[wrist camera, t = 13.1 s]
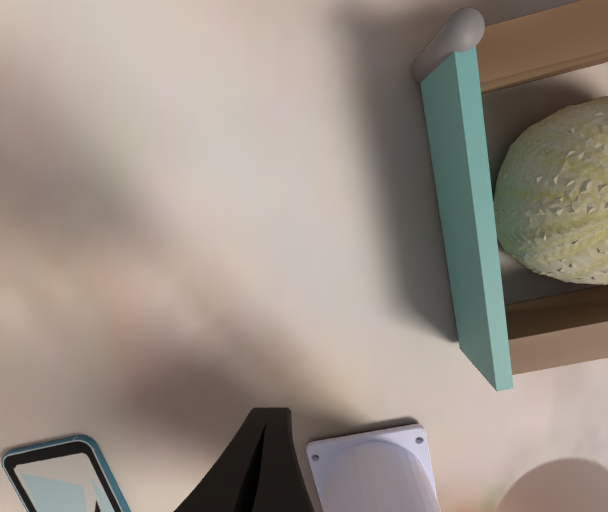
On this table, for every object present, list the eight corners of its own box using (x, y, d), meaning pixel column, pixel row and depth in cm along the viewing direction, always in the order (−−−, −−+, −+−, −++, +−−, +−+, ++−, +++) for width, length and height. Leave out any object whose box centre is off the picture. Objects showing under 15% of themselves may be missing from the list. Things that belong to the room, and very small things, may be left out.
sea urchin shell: (602, 325, 17) (631, 309, 11) (473, 245, 22) (444, 204, 16) (749, 184, 15) (884, 70, 9) (573, 131, 20) (582, 34, 14)
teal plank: (410, 57, 16) (443, 13, 12) (438, 49, 16) (482, 2, 11) (455, 349, 19) (492, 395, 15) (477, 345, 19) (522, 389, 15)
